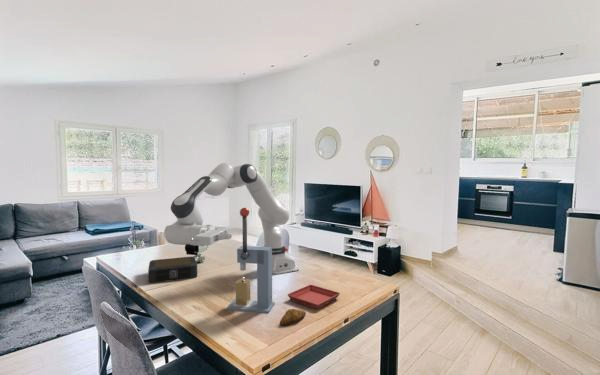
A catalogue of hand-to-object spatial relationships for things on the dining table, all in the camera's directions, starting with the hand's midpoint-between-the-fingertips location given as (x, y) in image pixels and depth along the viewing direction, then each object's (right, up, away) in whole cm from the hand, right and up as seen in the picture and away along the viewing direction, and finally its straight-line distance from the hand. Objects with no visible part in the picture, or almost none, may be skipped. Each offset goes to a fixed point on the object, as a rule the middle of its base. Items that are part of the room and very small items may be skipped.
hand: (230, 236), depth 142 cm
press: (+8, -32, +5) cm, 33 cm away
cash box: (-42, -30, +48) cm, 70 cm away
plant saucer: (+36, -32, +13) cm, 50 cm away
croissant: (+27, -33, -8) cm, 43 cm away
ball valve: (-36, -28, +74) cm, 87 cm away
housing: (+4, -31, +7) cm, 32 cm away
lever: (+6, -9, -1) cm, 11 cm away
